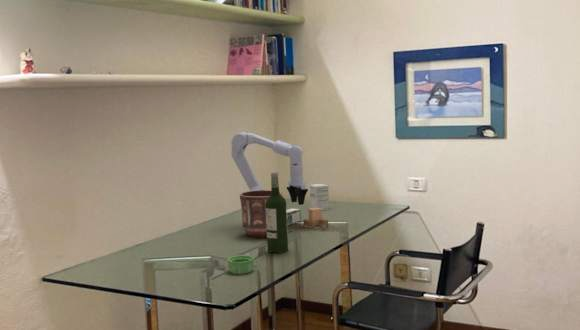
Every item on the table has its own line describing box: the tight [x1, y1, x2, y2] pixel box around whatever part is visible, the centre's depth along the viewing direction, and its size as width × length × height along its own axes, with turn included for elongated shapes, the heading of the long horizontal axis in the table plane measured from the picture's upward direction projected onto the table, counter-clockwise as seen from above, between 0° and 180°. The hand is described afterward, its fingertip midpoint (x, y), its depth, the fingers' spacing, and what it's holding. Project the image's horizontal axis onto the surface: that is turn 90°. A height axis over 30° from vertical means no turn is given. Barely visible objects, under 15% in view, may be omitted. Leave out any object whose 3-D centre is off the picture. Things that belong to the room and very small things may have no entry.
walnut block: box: [302, 217, 329, 229], centre depth 275 cm, size 8×8×4 cm
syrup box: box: [286, 208, 303, 226], centre depth 284 cm, size 6×6×14 cm
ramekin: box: [227, 254, 255, 275], centre depth 210 cm, size 9×9×4 cm
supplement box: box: [309, 183, 330, 211], centre depth 315 cm, size 7×7×13 cm
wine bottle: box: [265, 172, 289, 254], centre depth 233 cm, size 8×8×30 cm
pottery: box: [239, 189, 283, 239], centre depth 262 cm, size 18×18×18 cm
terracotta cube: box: [307, 207, 323, 221], centre depth 274 cm, size 4×4×5 cm
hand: (297, 203), depth 276 cm, fingers open, 7 cm apart
